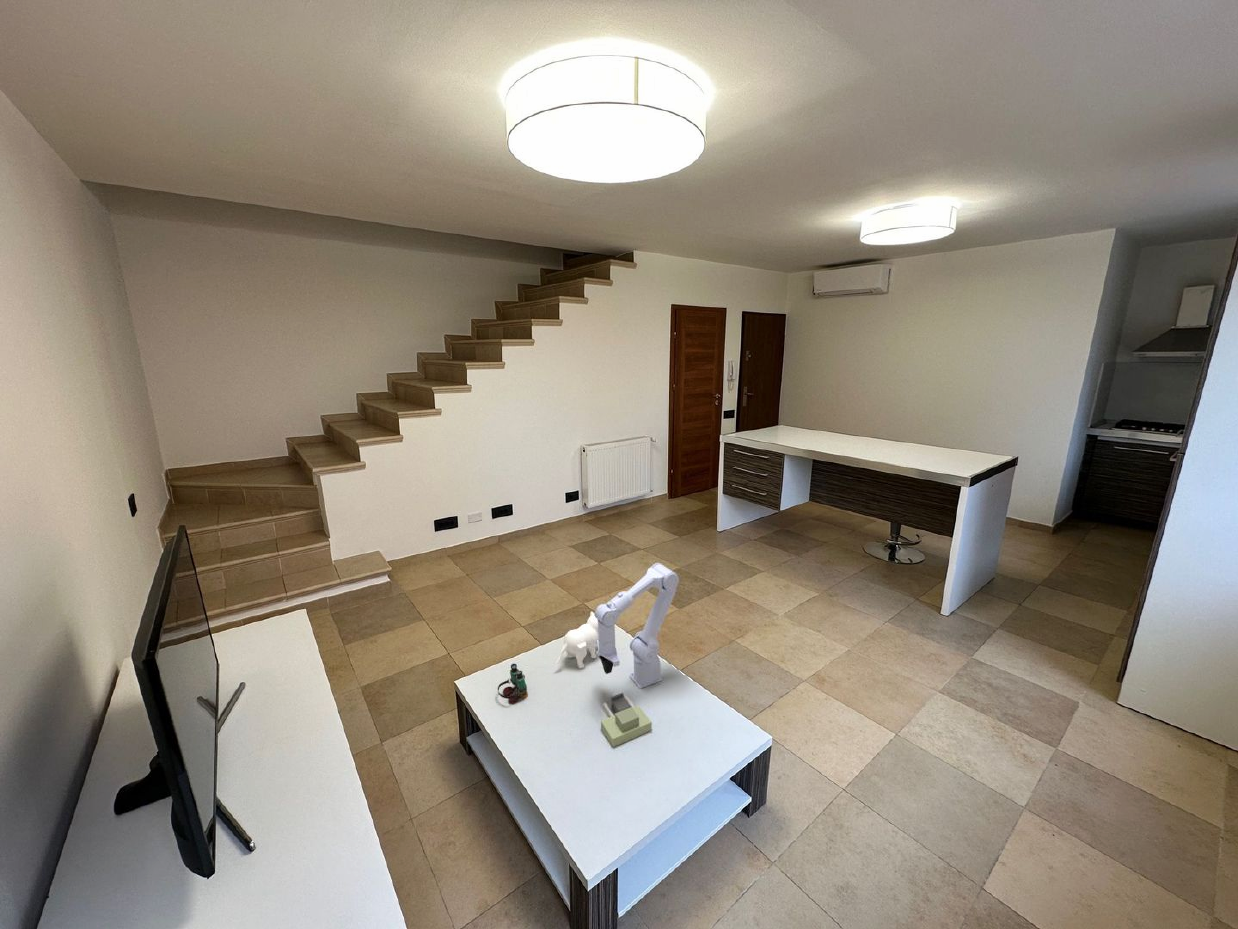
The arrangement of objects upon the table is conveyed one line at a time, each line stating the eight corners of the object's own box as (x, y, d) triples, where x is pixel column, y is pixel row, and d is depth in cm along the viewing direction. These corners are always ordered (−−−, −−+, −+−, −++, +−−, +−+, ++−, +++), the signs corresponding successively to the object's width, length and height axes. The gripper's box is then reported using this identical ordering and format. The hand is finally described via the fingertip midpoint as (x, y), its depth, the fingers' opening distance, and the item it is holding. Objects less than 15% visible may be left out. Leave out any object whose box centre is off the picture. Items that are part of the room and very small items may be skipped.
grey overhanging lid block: (622, 704, 168) (622, 692, 167) (631, 716, 163) (630, 703, 162) (611, 709, 166) (610, 697, 165) (619, 721, 161) (618, 708, 160)
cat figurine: (563, 680, 180) (560, 641, 176) (548, 666, 188) (546, 628, 184) (615, 652, 196) (614, 615, 191) (600, 640, 203) (598, 605, 199)
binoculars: (491, 673, 171) (516, 659, 176) (496, 696, 174) (521, 682, 180) (501, 686, 164) (528, 671, 169) (507, 711, 167) (533, 695, 173)
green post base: (627, 697, 171) (626, 683, 169) (651, 730, 157) (651, 714, 155) (590, 712, 165) (590, 697, 163) (612, 747, 150) (612, 731, 149)
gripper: (587, 630, 171) (589, 664, 175) (605, 653, 159) (606, 688, 162) (605, 625, 174) (606, 657, 178) (624, 646, 162) (625, 681, 165)
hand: (608, 672), depth 170 cm, fingers closed
